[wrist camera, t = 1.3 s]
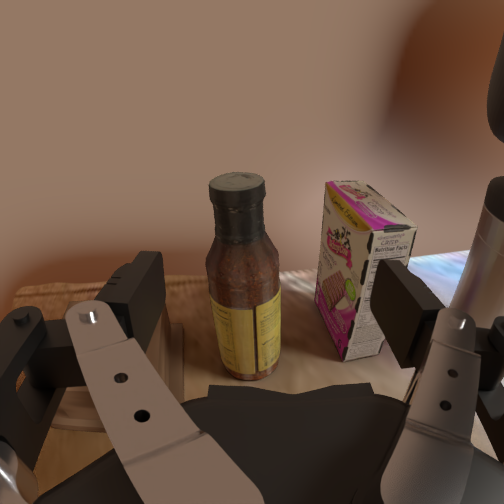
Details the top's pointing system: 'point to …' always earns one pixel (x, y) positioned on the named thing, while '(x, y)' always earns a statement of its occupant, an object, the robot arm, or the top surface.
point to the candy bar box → (357, 262)
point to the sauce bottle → (244, 278)
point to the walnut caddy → (160, 356)
